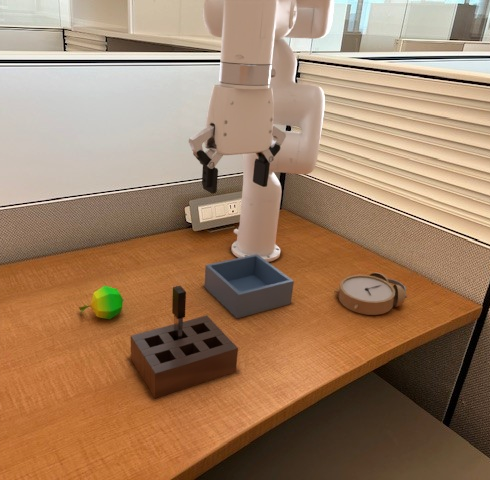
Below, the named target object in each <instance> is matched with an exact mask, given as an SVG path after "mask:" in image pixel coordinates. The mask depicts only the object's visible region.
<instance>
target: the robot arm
mask: <svg viewBox="0 0 490 480" xmlns="http://www.w3.org/2000/svg"><path fill="white" fill-rule="evenodd" d="M203 1H204V2H203V6H202V19H203V23H204V27H205V29H206V30H207V32H208V33H209V34H210V35H211V36H214V37H218V38H221V44H220V59H219V60H220V62H219V74H218V84H213V86H212V88H211V93H210V96H209V101H208V106H207V111H206V118H205V119H206V120H205V124H204V125H205V126H204V128H203V129H202V130H200V131H198V132H197V133H195V134H193V135H192V136H191V137H189V138H188V144H189V146H190V148H191V151H192V154H193V156H194V157H195V158H196V160H197V161H198V162H199V164H200V165H202V171H201V172H202V173H201V174H202V175H201V185H202V188H203V190H204V191H206V192H208V193H210V194H212V195H213V194H216V193H217V192H218V181H219V169H218V168H217V167H216V166H217V164H218V163H219V162H220V161H221V159H222V158H223V157H224V156H236V155H242V166H243V167H242V169H243V170H242V171H243V176H242V177H243V178H242V191H241V192H242V193H241V202H240V214H239V226H238V227H237V228H235V229H233V234H234V235H236V240H235V241H234V242H232V244H231V253H232V254H233V255H234V256H235V257H236V258H241V257H246V256H250V255H255V254H257V255H259V256H260V257H262V258H263V259H264V260H266V261H267V262H269V263H270V262H273V261H275V260H277V259H279V258H280V256H281V251H282V250H281V248H280V247H279V246H278V245H277V243H276V241H277V234H278V233H277V232H278V226H279V224H278V223H279V217H280V211H281V209H280V208H281V200H282V193H283V192H282V185H281V182H280V180H279V178H278V177H277V175H276V174H275V173H283V174H293V175H309V174H311V173H312V172H313V171H314V169H315V168H316V165H317V163H318V158H319V157H318V156H319V150H320V143H321V136H322V129H323V123H324V115H325V106H326V96H325V92H324V89H323V88H322V87H321V86H319V85H317V84H311V83H299V82H296V74H297V66H298V59H297V57H296V55H295V53H294V51H293V49H292V48H291V46H290V45H289V44H288V42H287V41H286V40H285V39H284V38H287V39H288V38H289V39H305V40H306V39H307V40H319V39H323V38H324V37H326V36H327V35H328V34H329V32H330V31H331V28H332V25H333V20H334V11H335V3H336V2H335V1H336V0H203ZM275 125H280V126H289V127H298V128H299V129H300V130H301V132H299V131H288V130H283V129H282V130H281V129H279V128H278V127H276V126H275ZM203 145H204V147H205V149H206V150H205V151H204V149H203Z"/></svg>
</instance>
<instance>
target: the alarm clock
mask: <svg viewBox="0 0 490 480" xmlns="http://www.w3.org/2000/svg"><path fill="white" fill-rule="evenodd" d="M392 284H393V285H392ZM406 291H407V287H406V286H405V285H404V284H403V283H402V282H401V281H398V280H396V279H393V278H388V277H387V276H386V275H385V274H383V273H382V272H375V271H374V272H372V273H370V274H353V275H348V276H346V277H344V278H343V279H341V281H340V283H339V289H334V290H333V293H336V294H338V300H339V303H341V304H342V306H343V307H345V308H347V310H350V311H352V312H354V313H358V314H360V315H361V314H362V315H368V316H377V315H378V316H379V315H384V314H386V313H388V312H390V311H391V310H392V309H393V307H395V308H396V307H400V306H402V305H403V304H404V302H405V300H406V298H408V295H406Z"/></svg>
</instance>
